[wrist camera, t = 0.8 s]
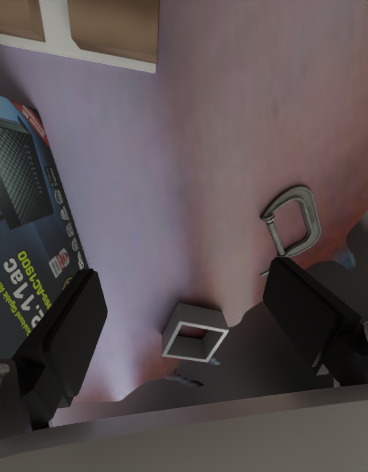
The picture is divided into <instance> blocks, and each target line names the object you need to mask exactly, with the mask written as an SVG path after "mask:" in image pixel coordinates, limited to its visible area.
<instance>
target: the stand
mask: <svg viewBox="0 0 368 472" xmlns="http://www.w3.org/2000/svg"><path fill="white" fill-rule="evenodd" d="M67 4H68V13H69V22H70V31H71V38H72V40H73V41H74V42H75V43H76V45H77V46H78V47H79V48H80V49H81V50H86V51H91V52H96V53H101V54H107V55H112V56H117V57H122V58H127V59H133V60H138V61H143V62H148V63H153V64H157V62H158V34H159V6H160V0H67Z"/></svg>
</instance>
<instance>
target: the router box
mask: <svg viewBox="0 0 368 472" xmlns="http://www.w3.org/2000/svg"><path fill="white" fill-rule="evenodd" d="M80 269H89V268H88V265H87V262H86V259H85V256H84V252H83V249H82V246H81V243H80V240H79V237H78V234H77V231H76V228H75V225H74V222H73V218H72V216H71V212H70V209H69V206H68V202H67V199H66V196H65V193H64V190H63V187H62V184H61V181H60V178H59V175H58V171H57V168H56V165H55V162H54V159H53V156H52V153H51V150H50V147H49V143H48V140H47V137H46V134H45V131H44V128H43V125H42V121H41V118H40V115H39V113H38V111H37V110H35V109H33V108H31V107H28V106H26V105H23V104H20V103H18V102H15V101H12V100H10V99H7V98H5V97H3V96H0V359H8V358H9V359H11V358H12V357H13V355H14V354H15V353H16V351H17V349H18V348H19V347H20V345H21V344H22V343H23V342H24V340H25V339H26V338H27V336H28V335H29V334H30V332H31V331H32V330H33V329H34V327H35V326H36V325H37V323H38V322H39V321H40V319H41V318H42V317H43V316H44V314H45V313H46V312H47V310H48V309H49V308H50V306H51V305H52V304H53V303H54V301H55V300H56V299H57V297H58V296H59V295H60V294H61V292H62V291H63V290H64V288H65V287H66V286H67V284H68V283H69V282H70V281H71V279H72V278H73V277H74V275H75V274H76V273H77V271H78V270H80Z"/></svg>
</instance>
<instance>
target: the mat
mask: <svg viewBox="0 0 368 472" xmlns="http://www.w3.org/2000/svg"><path fill="white" fill-rule="evenodd" d="M39 3H40V9H41V15H42V22H43V28H44V34H45V41H46V43H45V42H40V41H35V40H30V39H24V38H19V37H14V36H9V35H4V34H0V45H4V46H10V47H15V48H20V49H26V50H31V51H37V52H42V53H47V54H53V55H58V56H64V57H69V58H75V59H80V60H85V61H91V62H96V63H102V64H107V65H112V66H118V67H123V68H129V69H134V70H139V71H145V72H150V73H156V64H153V63H148V62H143V61H138V60H133V59H127V58H122V57H117V56H112V55H107V54H101V53H96V52H91V51H86V50H81V49H80V48H79V47H78V46H77V45H76V43H75V42H74V41H73V40H72V38H71V31H70V22H69V13H68V4H67V0H39Z"/></svg>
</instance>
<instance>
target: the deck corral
mask: <svg viewBox="0 0 368 472" xmlns="http://www.w3.org/2000/svg"><path fill="white" fill-rule="evenodd" d="M182 325H187V326H192V327H198V328H203V329H208V330H207V332H206V334H205V335H204V337H203V339H202V340H200V339H194V338H188V337H182V336H176V335H177V333H178V331H179V329H180V328H181V326H182ZM228 331H229V329H228V326H227V323H226V321H225V318H224V315H223V312H220V311H216V310H211V309H206V308H202V307H197V306H192V305H188V304H183V303H178V304H177V306H176V308H175V310H174V312H173V314H172V316H171V318H170V320H169V322H168V324H167V326H166V328H165V330H164V333H163V335H162V356H165V357H172V358H180V359H187V360H195V361H202V362H208V361H209V359H210V358H211V356H212V355H213V353H214V352H215V350H216V349H217V347H218V346H219V344H220V343H221V342H222V340H223V339H224V337H225V336H226V334H227V333H228Z"/></svg>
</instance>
